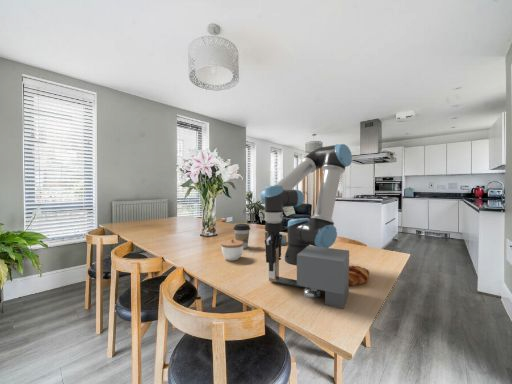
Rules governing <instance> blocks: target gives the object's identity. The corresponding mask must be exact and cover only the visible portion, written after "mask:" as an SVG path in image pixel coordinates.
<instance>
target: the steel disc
mask: <svg viewBox="0 0 512 384" xmlns="http://www.w3.org/2000/svg"><path fill="white" fill-rule="evenodd" d="M303 296H304V297H305V298H307V299H317V298H318V297H319V296H317V289H314V288H309V287H308V288H303Z"/></svg>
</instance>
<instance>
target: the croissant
mask: <svg viewBox="0 0 512 384" xmlns="http://www.w3.org/2000/svg"><path fill="white" fill-rule="evenodd" d="M369 276H370V270H369V269H367V268H365V267H361V266H359V265H349V286H353V287H355V286H360V285H363V284H364V283H367V282H368V280H369V279H370V278H369Z"/></svg>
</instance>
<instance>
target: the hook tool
mask: <svg viewBox="0 0 512 384" xmlns="http://www.w3.org/2000/svg"><path fill="white" fill-rule="evenodd" d="M274 263H275V279H272V278H269V277H268V281H269V282H274V283H278V284H282V285H283V284H284V285H287V286H295V287H299V288H303V289H305V288H308V287H304V286H299V285H297V279H293V278H287V277H281V276H280V260H279V247H275V260H274ZM323 292H324V291H323V290H319V289H317V296H318V297H319V298H321V295H322V294H323Z"/></svg>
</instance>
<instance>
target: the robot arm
mask: <svg viewBox="0 0 512 384" xmlns="http://www.w3.org/2000/svg"><path fill="white" fill-rule="evenodd" d="M352 160H353V155H352V152H351V149H350V147H349V146H348V145H347V144H344V143H341V144H337V143H336V144H333V145H328V146H326V145H325V146H321V147H316V149H314V150H312V151H310V152H309V153H308V154H306V155H305V156H304V157H303V158H302V159H301V161H300V163H299V164H297V165H296V166H295V167H294V168H293V169H292V170H291V171H289V172H288V173H287V174H286V175H285V176H283V178H281V179H280V180H278V182H277V183H275V185H267V186H265V189H264V190H262V191H261V193H260V199H261V202H262V203H263V204H264V221H265V222H264V231H265V232H268V239H267V240H265V239H264V244H265V245H264V246H265V262H266V263H267V264H268V279H269V278H272V279H275V263H274V260H275V247H279V261H282V245H281V241H282V235H283V234H282V235H280V234H281V233H280V232H282V231H284V228H283V227H284V224H283V220H284V219H283V218H284V214H283V212H284V208H289V207H295V208H296V207H299V206H301V205H303V203H304V200H305V199H304V198H305V196H304V194H303V193H304V192H302V191H301V190H300V189H294V188H295V187H296V186H297V185H298V184H300V183H301V182H302V181H303V180H304V179H305V178H306V177H307V176H309V174H310V173H311V174H312V173H315V171H317V170H319V169H322V171H323V173H322V178H321V182H320V188H319V191H318V197H317V201H316V206H315V211H314V213H313V215H312V216H311V217H310V218H308V217H305V218H291V219H289V220H288V222H287V247H286V251H285V253H284V262H285V263H288V264H291V265H296V266H297V254H299V253H300V252H301V251H302V250H303V249H305V248H306V247H307V246H316V247H324V248H332V246H333V245H334V244H335V242H336V240H337V236H338V232H337V228H336V226H335V222H334V221H333V214H334V210H335V209H334V208H335V204H336V199H337V194H338V190H339V189H338V188H339V184H340V180H341V175H342V174H343V173H345V170H346V167H349V166H350V165H351V164H352V162H353V161H352Z"/></svg>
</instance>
